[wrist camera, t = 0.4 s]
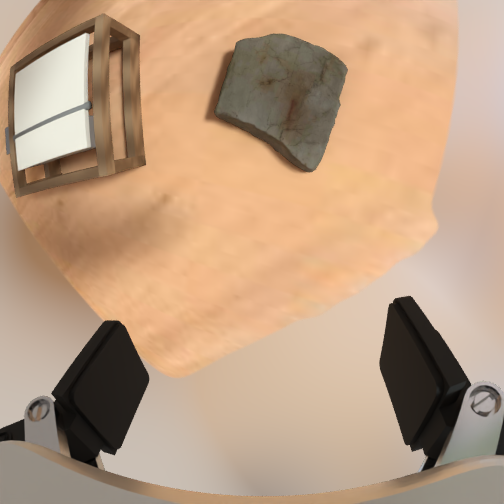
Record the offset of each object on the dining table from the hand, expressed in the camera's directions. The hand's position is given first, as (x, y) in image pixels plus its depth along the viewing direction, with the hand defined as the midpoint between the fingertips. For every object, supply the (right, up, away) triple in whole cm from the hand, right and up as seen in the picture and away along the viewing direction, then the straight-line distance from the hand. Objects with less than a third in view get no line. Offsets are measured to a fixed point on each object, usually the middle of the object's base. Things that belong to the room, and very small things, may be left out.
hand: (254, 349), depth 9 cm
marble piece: (+4, +23, +24) cm, 34 cm away
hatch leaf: (-25, +23, +19) cm, 39 cm away
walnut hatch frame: (-25, +25, +24) cm, 43 cm away
